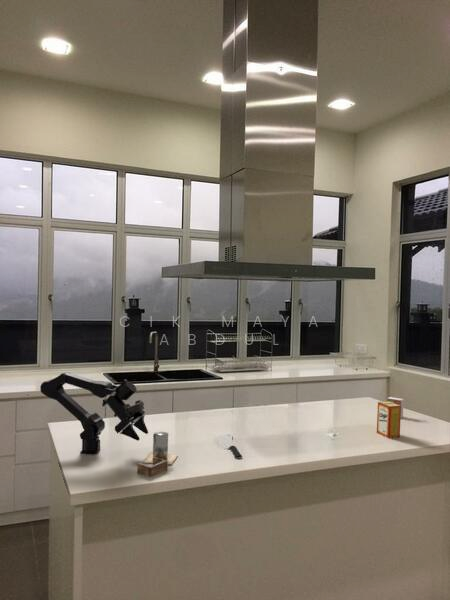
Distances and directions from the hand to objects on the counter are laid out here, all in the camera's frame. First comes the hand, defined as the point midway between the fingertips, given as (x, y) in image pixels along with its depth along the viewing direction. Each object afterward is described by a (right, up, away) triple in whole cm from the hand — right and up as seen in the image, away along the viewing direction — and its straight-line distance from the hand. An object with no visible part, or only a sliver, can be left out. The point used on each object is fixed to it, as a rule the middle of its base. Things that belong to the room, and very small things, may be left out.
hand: (143, 436), depth 201 cm
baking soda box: (+115, -11, +43) cm, 123 cm away
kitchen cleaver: (+34, -10, +17) cm, 40 cm away
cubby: (+6, -9, -14) cm, 18 cm away
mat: (+7, -9, -2) cm, 12 cm away
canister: (+7, -8, -2) cm, 11 cm away
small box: (+131, -11, +79) cm, 153 cm away
